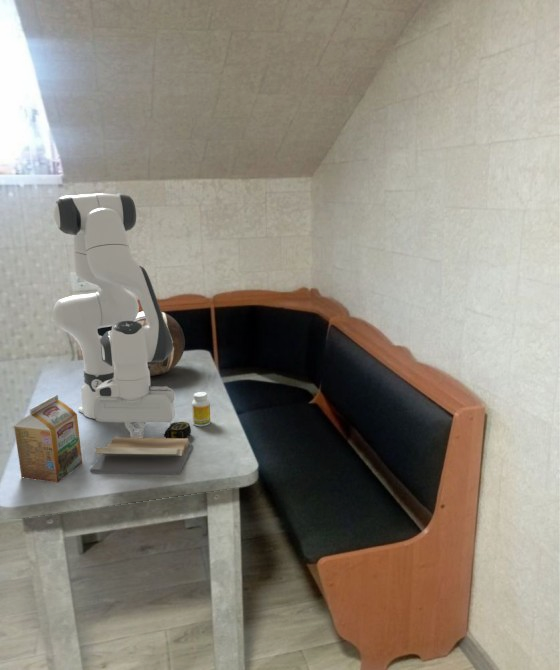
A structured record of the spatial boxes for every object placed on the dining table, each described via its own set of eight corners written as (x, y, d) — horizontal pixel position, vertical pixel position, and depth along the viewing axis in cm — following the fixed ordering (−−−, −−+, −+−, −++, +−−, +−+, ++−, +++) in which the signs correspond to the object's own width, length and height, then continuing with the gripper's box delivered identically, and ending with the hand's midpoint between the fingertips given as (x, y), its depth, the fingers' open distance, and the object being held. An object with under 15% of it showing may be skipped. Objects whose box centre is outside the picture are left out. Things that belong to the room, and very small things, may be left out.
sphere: (189, 381, 215) (185, 315, 209) (119, 387, 210) (113, 320, 203) (184, 361, 239) (180, 302, 232) (121, 367, 233) (116, 306, 227)
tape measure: (172, 431, 172) (171, 420, 171) (194, 433, 170) (193, 421, 170) (164, 441, 165) (163, 429, 164) (186, 443, 164) (186, 430, 163)
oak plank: (115, 442, 162) (114, 437, 162) (188, 443, 161) (188, 438, 161) (106, 453, 156) (105, 448, 155) (182, 454, 154) (182, 449, 154)
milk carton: (57, 482, 143) (48, 411, 138) (21, 477, 146) (11, 407, 141) (82, 463, 153) (74, 396, 148) (48, 458, 156) (39, 392, 151)
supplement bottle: (190, 422, 178) (188, 392, 176) (207, 418, 180) (205, 389, 178) (196, 428, 173) (194, 398, 171) (213, 424, 176) (211, 395, 173)
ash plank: (104, 454, 154) (105, 449, 155) (181, 455, 153) (182, 450, 153) (94, 453, 148) (95, 447, 148) (175, 454, 146) (176, 448, 147)
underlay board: (112, 445, 163) (111, 442, 163) (192, 446, 161) (192, 443, 161) (90, 472, 148) (90, 469, 147) (179, 474, 146) (179, 470, 146)
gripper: (176, 382, 147) (179, 432, 151) (98, 381, 149) (103, 431, 152) (170, 390, 141) (173, 442, 145) (88, 390, 143) (94, 441, 146)
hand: (137, 436), depth 148 cm, fingers closed
